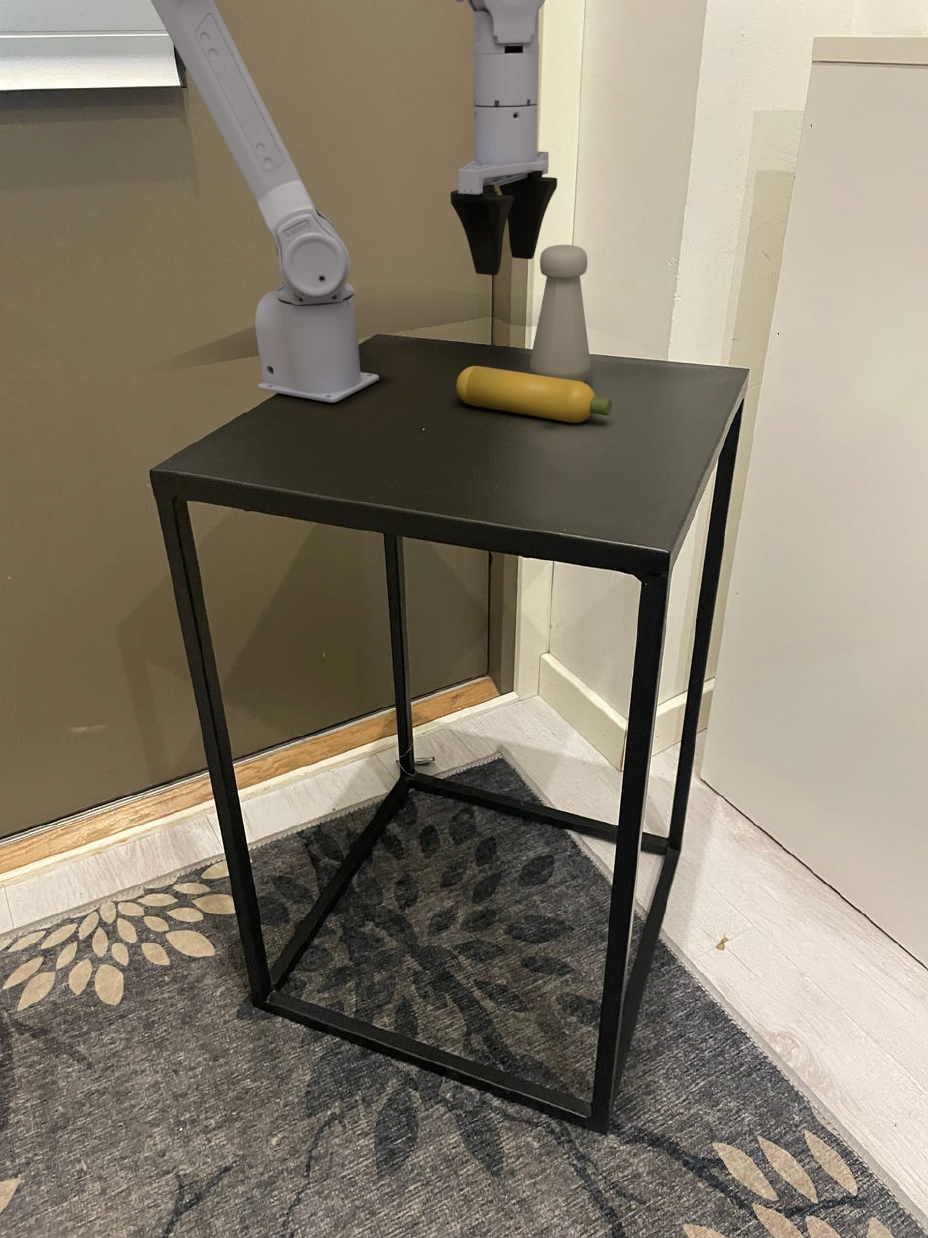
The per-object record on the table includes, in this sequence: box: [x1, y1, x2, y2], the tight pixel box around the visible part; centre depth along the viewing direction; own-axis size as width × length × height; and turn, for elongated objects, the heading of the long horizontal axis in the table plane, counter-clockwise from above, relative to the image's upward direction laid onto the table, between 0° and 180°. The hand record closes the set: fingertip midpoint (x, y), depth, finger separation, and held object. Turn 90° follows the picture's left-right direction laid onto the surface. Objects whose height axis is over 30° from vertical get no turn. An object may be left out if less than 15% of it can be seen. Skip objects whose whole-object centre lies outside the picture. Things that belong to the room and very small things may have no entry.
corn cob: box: [455, 365, 613, 424], centre depth 83 cm, size 15×4×4 cm, turn 61°
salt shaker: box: [529, 244, 591, 383], centre depth 86 cm, size 6×6×13 cm
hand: (505, 265), depth 89 cm, fingers open, 7 cm apart
